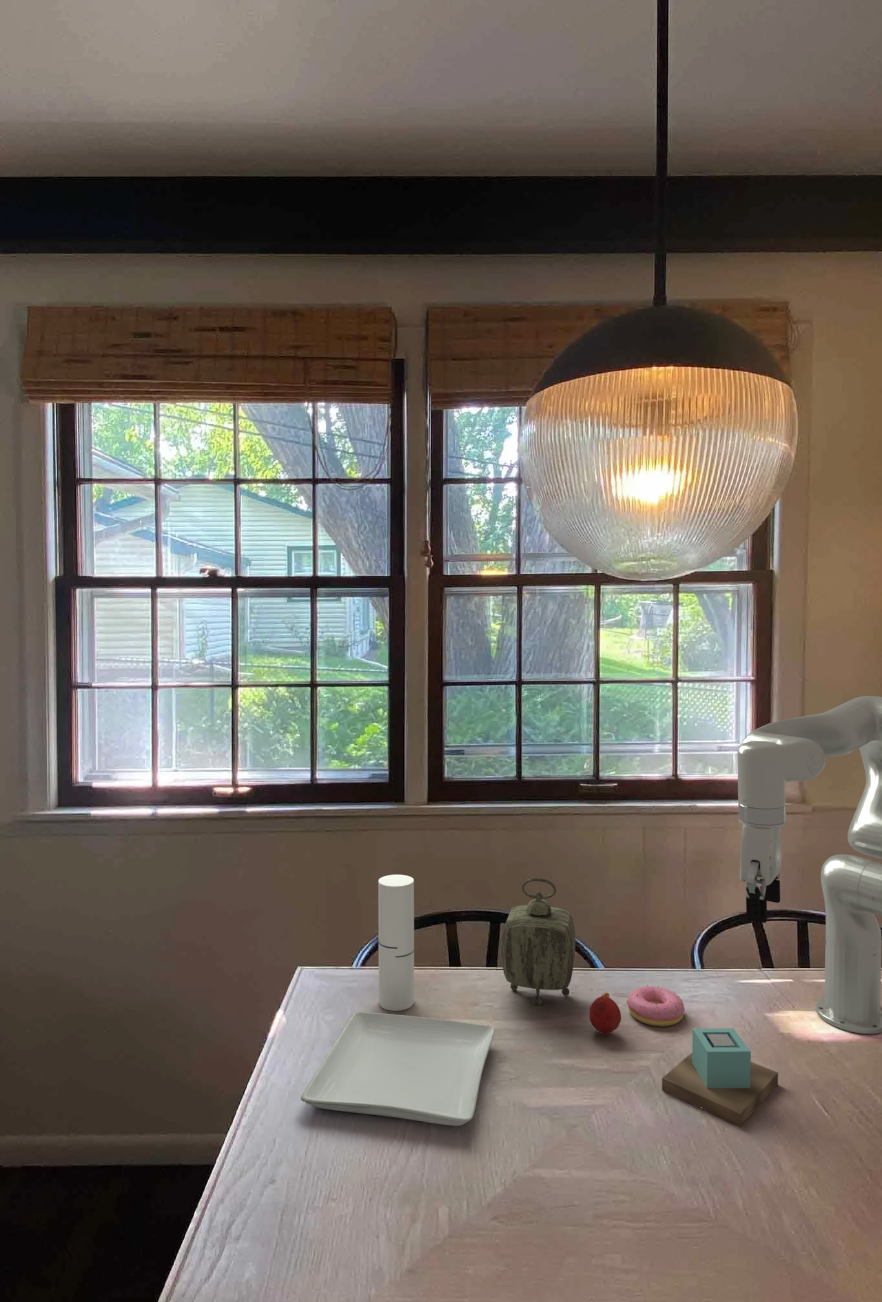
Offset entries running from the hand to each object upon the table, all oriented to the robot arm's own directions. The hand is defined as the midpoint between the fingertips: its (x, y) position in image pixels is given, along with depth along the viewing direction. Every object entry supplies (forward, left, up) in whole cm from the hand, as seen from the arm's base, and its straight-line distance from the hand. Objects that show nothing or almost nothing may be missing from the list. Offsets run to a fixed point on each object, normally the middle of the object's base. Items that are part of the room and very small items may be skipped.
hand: (763, 910), depth 132 cm
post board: (+12, -2, -27) cm, 30 cm away
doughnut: (-2, -21, -27) cm, 35 cm away
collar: (+12, -2, -25) cm, 28 cm away
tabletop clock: (+10, -42, -27) cm, 51 cm away
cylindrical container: (+31, -62, -27) cm, 74 cm away
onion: (+12, -25, -27) cm, 38 cm away
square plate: (+47, -42, -28) cm, 68 cm away
